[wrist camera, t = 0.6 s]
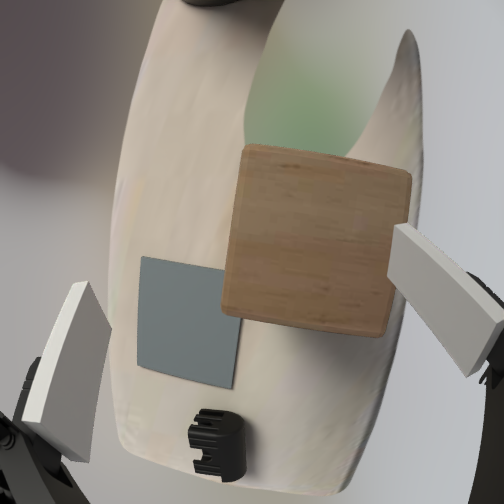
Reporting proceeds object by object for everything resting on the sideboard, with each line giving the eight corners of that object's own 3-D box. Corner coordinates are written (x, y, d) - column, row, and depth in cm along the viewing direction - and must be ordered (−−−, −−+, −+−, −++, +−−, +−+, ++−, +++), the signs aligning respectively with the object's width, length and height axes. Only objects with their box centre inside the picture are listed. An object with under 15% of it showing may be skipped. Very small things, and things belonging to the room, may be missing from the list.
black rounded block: (249, 456, 40) (243, 485, 33) (206, 452, 41) (195, 479, 34) (247, 409, 39) (239, 437, 33) (199, 405, 40) (185, 431, 33)
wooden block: (337, 279, 36) (385, 341, 16) (256, 266, 37) (217, 316, 17) (350, 197, 35) (415, 171, 15) (268, 184, 36) (242, 140, 16)
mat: (143, 256, 39) (141, 256, 38) (247, 274, 37) (246, 274, 37) (139, 363, 41) (137, 365, 40) (231, 386, 39) (230, 388, 38)
